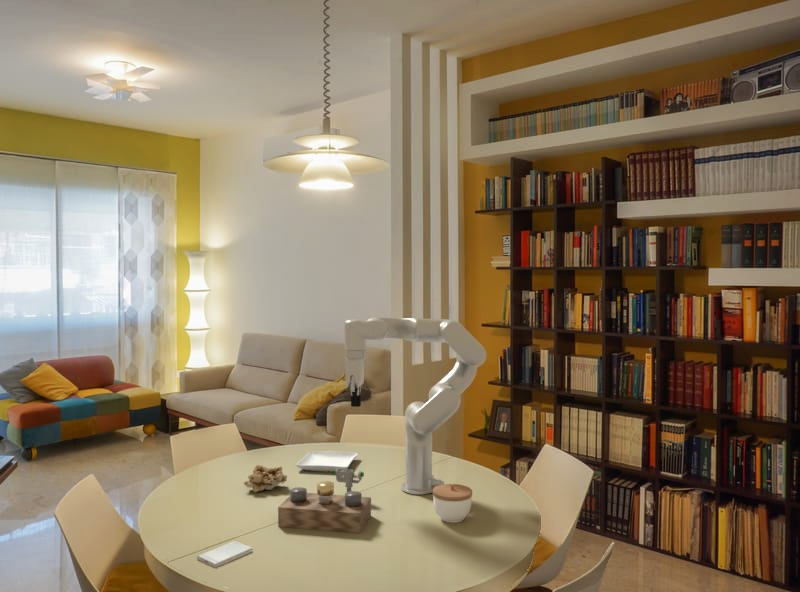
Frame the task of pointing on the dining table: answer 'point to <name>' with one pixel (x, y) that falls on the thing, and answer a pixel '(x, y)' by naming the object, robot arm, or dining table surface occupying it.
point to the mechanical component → (348, 477)
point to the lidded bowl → (452, 502)
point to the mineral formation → (265, 478)
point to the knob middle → (325, 492)
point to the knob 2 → (353, 499)
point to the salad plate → (326, 460)
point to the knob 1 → (298, 494)
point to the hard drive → (224, 553)
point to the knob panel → (324, 514)
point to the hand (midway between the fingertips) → (356, 406)
